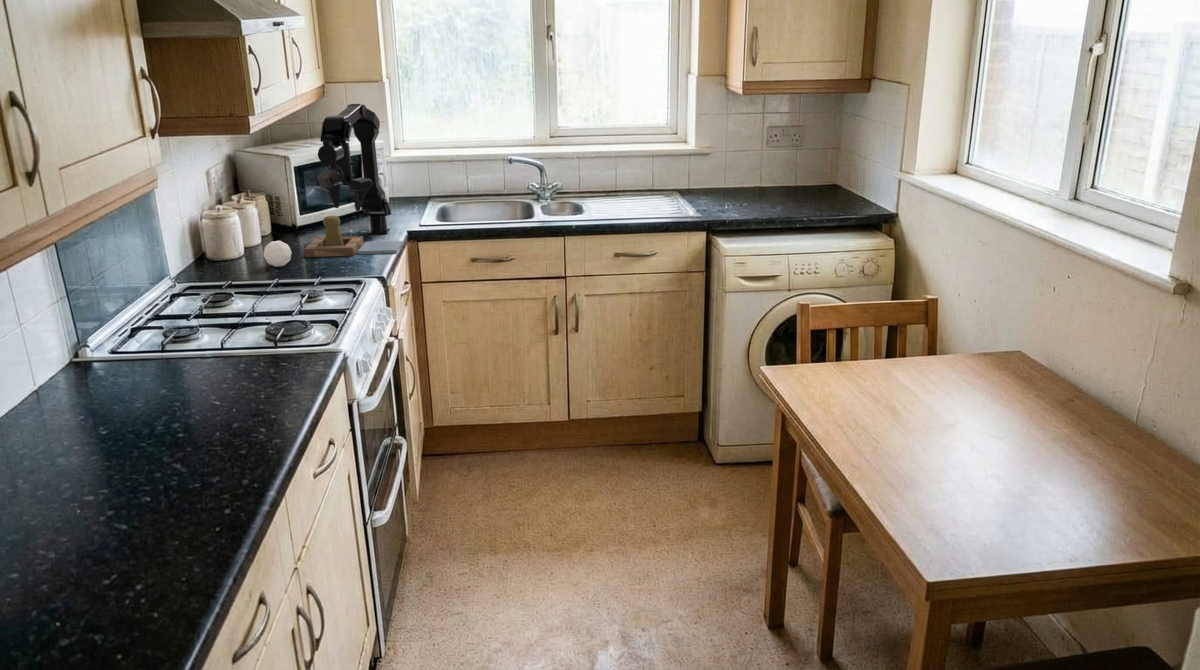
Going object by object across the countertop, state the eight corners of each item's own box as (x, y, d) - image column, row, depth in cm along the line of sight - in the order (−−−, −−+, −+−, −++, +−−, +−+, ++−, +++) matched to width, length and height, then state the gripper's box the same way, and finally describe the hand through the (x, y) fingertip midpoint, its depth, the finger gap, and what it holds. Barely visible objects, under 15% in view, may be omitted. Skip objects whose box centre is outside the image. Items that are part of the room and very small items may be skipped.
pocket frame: (317, 244, 280) (316, 237, 279) (363, 243, 280) (363, 236, 279) (305, 256, 266) (303, 249, 265) (353, 255, 266) (352, 247, 265)
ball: (288, 273, 258) (300, 253, 256) (265, 270, 251) (278, 249, 249) (276, 257, 261) (289, 237, 259) (254, 254, 255) (266, 233, 252)
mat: (366, 244, 279) (365, 241, 278) (402, 243, 279) (402, 240, 279) (357, 254, 268) (357, 251, 267) (396, 253, 268) (396, 250, 268)
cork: (333, 253, 269) (328, 219, 265) (321, 250, 272) (316, 216, 268) (348, 249, 273) (344, 215, 270) (337, 246, 277) (333, 213, 273)
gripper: (299, 160, 258) (306, 211, 263) (342, 165, 249) (348, 218, 254) (327, 155, 267) (334, 204, 272) (370, 159, 257) (376, 210, 263)
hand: (347, 209), depth 265 cm, fingers open, 9 cm apart
